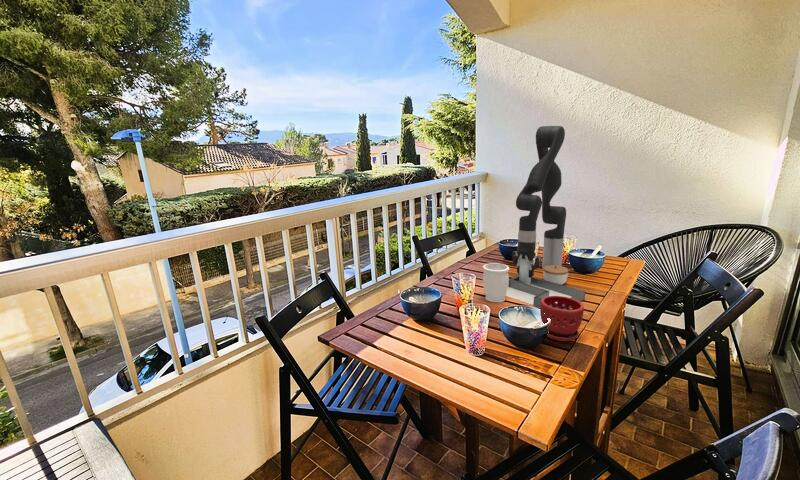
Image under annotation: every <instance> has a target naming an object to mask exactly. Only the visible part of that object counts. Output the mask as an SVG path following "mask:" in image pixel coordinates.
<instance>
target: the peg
mask: <svg viewBox="0 0 800 480" xmlns="http://www.w3.org/2000/svg"><path fill="white" fill-rule="evenodd" d="M527 261H528V260H526V259H520V272H519V275H518V276H519V282H521V283H524V284H528V285H530V284H531V278H529V270H530V269H529V266H528V265H527ZM531 262H532V261H530V263H531Z"/></svg>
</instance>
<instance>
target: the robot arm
mask: <svg viewBox="0 0 800 480" xmlns="http://www.w3.org/2000/svg"><path fill="white" fill-rule="evenodd" d="M565 137H566V131H565V128H564V127H563V126H562V125H544V126H543V125H542V126H539V127H538V128H537V130H536V133H535V145H536V151H537V158H538V162H537V163H535V165H534V166H532V169H531V170H530V172H529V175H528V178H527V181H526V184H525V185H524V187H523V188H522V189H521V191H520V192H519V194H518V195H517V197H516V200H515V207H516V208H517V209H518V210H519V211H523V212H525V211H526V212H529V214H528V215H523V216H520V218H519V221H518V223H519V224H518V233H517V250H514V251H511V258H512V264H513V265H515V266H516V273H517V276H519V272H520V259H526V260H528V261H527V265H528V266H529V269H530V270H529V278H531V277H535V276H534V275H535V271H536V270H538V269H539V267H540V265H541V264H542V265H541V268H542V269H543V267H544V266H548V265H558V266H562V264H563V255H564V254H563V253H564V252H563V251H564V250H563V249H564V237H565V226H566V220H567V209H566V207H565V206H560V205H559V206H557V205H551V201H552V199H553V198H554V197H555V195H556V193H558V191H559V190H560V188H561V186H562V182H563V181H562V170H561V169H560V166H559V165H558V164H557V163H556V161H555V159H556V158H557V156H558V154H559V152H560V150H561V148H562V146H563V143H564V141H565ZM539 192H541V196H540V195H537V194H536V193H539ZM540 211H541V218H542V219H541V220H542V222H543V224H546V225H547V224H548V225H556V227H554V228H551V229H547V230H545V231H544V232H543V233H544V235H543V245H542V246H543V250H542V256H538V255H536V253H535V251H536V246H537V243H536V242H537V221H538V217H539V215H540ZM530 261H532V262H531V263H530ZM541 262H542V263H541Z"/></svg>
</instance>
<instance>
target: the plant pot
mask: <svg viewBox="0 0 800 480" xmlns="http://www.w3.org/2000/svg"><path fill="white" fill-rule="evenodd" d="M555 302H557V304H555ZM550 304H552V307H551V306H550ZM562 304H565V306H562ZM569 306H571V308H569ZM555 307H559V308H560V309H557V308H555ZM539 308H540V309H539V311H540V312H539V313H540V319H541V322H543V323H544V324H545V323H547V322H548V320H547V318H550V319H551V324H550V326H549V333H548V335H547V336H546V337H548V338H550V339H552V340H555V341H557V342H570V341H574V340H576V339H577V338H578V336H579V331H578V330H579V329H580V327H581V325H582V321H583V317H584V310H585V306H584V304H583V303H582V301H581V302H579V301H577V300H575V299H572V298H568V297H563V296H547V297H544V298H543V299H542V300H541V307H539ZM564 308H565V309H567V310H563V309H564ZM544 313H545V314H544ZM543 323H542V324H543Z"/></svg>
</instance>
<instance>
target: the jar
mask: <svg viewBox="0 0 800 480" xmlns="http://www.w3.org/2000/svg"><path fill="white" fill-rule="evenodd" d="M482 269H483V270H484V271H483V272H482V274H483V275H482V285H483V291H484V295H485V297H484V298H485V299H484V300H486V301H488V302H491V303H503V302H504V301H506V298H505V297H506V293H507V289H508V287H509V279H510V275H509V271H510V267H509V265H506V264H504V263H499V262H498V263H496V262H494V263H493V262H492V263H486V264H483V266H482Z"/></svg>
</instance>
